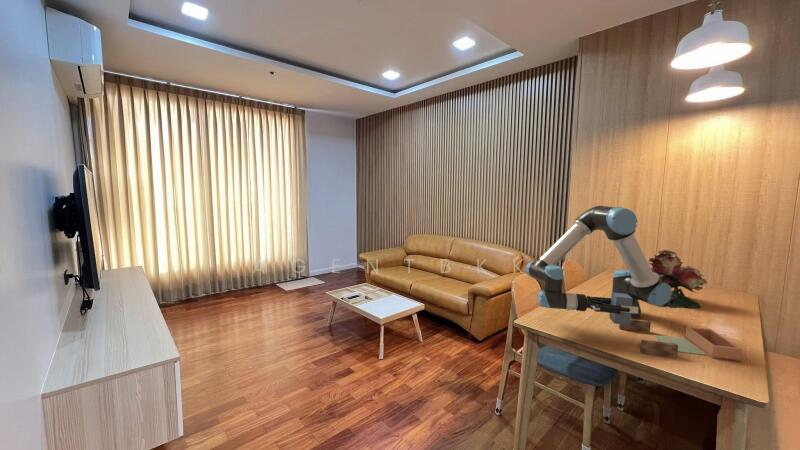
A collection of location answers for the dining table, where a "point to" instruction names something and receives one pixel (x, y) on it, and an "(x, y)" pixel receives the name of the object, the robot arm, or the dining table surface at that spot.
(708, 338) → the tan open box
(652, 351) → the walled lane
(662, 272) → the rose bouquet
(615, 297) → the tall block
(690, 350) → the pad
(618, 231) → the robot arm
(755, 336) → the dining table surface
